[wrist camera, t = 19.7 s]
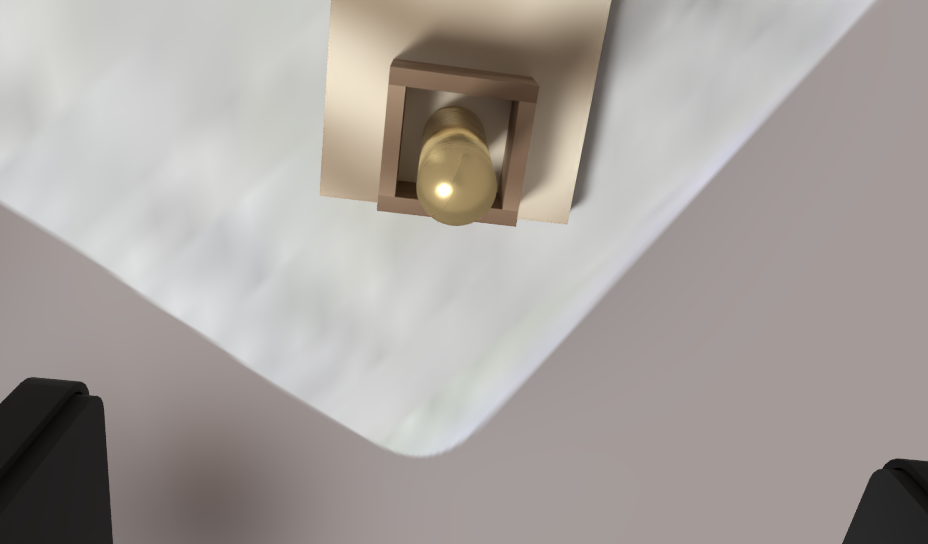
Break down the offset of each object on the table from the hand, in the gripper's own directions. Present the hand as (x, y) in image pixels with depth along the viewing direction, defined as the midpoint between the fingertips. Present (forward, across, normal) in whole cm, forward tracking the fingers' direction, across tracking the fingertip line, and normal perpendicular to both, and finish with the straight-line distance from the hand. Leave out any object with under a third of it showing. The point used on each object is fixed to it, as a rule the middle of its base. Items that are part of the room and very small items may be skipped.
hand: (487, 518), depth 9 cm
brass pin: (+21, 0, 0) cm, 21 cm away
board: (+22, 0, -4) cm, 23 cm away
